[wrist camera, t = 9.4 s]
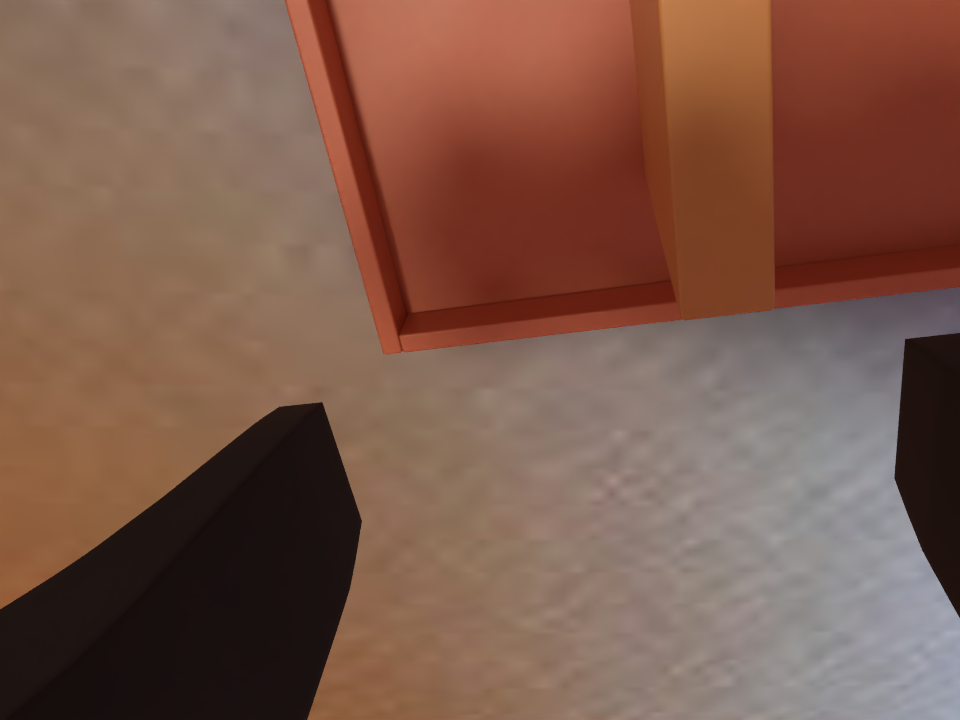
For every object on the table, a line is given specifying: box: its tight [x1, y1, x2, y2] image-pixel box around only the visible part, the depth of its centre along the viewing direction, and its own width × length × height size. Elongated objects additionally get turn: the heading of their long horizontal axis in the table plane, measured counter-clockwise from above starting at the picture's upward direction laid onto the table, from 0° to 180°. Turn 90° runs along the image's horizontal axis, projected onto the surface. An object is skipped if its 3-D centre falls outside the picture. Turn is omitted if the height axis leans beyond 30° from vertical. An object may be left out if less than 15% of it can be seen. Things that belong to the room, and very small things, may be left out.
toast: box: [630, 0, 775, 320], centre depth 14 cm, size 1×6×7 cm, turn 11°
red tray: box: [285, 0, 960, 354], centre depth 17 cm, size 15×12×2 cm
